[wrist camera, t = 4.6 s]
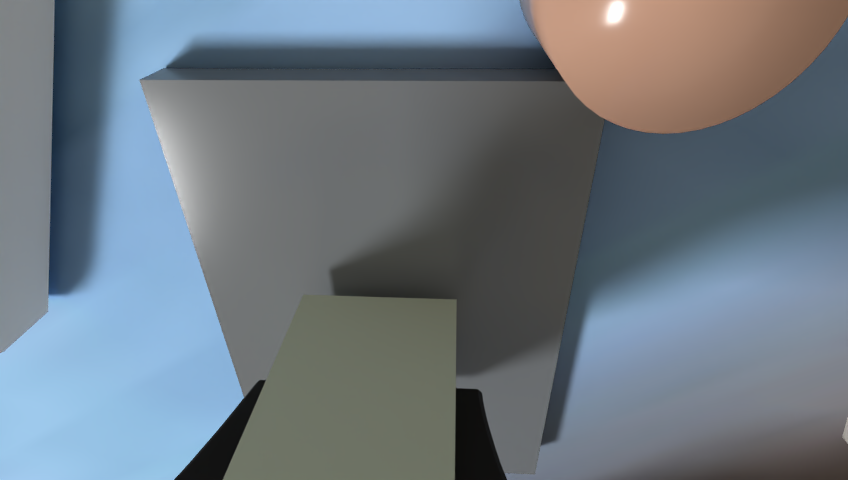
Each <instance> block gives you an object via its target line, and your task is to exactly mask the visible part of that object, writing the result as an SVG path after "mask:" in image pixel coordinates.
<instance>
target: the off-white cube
mask: <svg viewBox="0 0 848 480" xmlns="http://www.w3.org/2000/svg"><path fill="white" fill-rule="evenodd" d="M842 437H843V438H844V439H845V441H846V442H847V443H848V418H847V422H846V425H845V429H844V433H843V436H842Z"/></svg>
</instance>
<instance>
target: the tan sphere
mask: <svg viewBox="0 0 848 480" xmlns="http://www.w3.org/2000/svg"><path fill="white" fill-rule="evenodd" d="M519 1H520V6H521V9H522V12H523V15H524V17H525V20H526V22H527V24H528V26H529V28H530V30H531V31H532V33H533V34H534V36H535V37H536V39H537V40H538V42H539V43H540V45H541V46H542V48H543V49H544V51H545V52H546V54H547V55H548V57H549V58H550V60H551V61H552V63H553V64H554V66H555V67H556V69H557V70H558V72H559V73H560V75H561V76H562V78H563V79H564V81H565V82H566V83H567V85H568V86H569V88H570V89H571V90H572V92H573V93H574V94H575V96H576V97H577V98H578V99H579V100H580V101H581V102H582V103H583V104H584V105H585V106H586V107H588V108H589V109H590V110H592V111H593V112H595V113H596V114H597V115H599V116H600V117H602V118H604V119H606V120H608V121H610V122H612V123H613V124H616V125H619V126H622V127H625V128H627V129H631V130H636V131H641V132H646V133H660V134H667V133H683V132H689V131H694V130H700V129H704V128H707V127H711V126H714V125H718V124H720V123H723V122H725V121H728V120H730V119H733V118H736V117H738V116H740V115H742V114H744V113H746V112H748V111H750V110H751V109H753V108H755V107H757V106H759V105H760V104H762V103H763V102H765V101H766V100H768V99H770V98H771V97H773V96H774V95H776V94H777V93H778V92H779V91H781V90H782V89H783V88H785V87H786V86H787V85H789V84H790V83H791V82H792V81H793V80H795V79H796V78H797V77H798V76H799V75H800V74H801V73H802V72H803V71H804V70H805V69H806V68H808V67H809V66H810V65H811V63H812V62H813V61H814V60H815V59H816V58H817V57H818V56H819V55H820V54H821V52H822V51H823V50H824V49H825V48H826V47H827V45H828V44H829V43H830V41H831V40H832V39H833V37H834V36H835V35H836V33H837V32H838V31H839V29H840V28H841V26H842V25H843V23H844V21H845V20H846V18H847V17H848V0H519Z"/></svg>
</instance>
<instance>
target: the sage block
mask: <svg viewBox="0 0 848 480" xmlns="http://www.w3.org/2000/svg"><path fill="white" fill-rule="evenodd" d="M456 313H457V299H426V298H394V297H362V296H330V295H303V296H302V299H301V301H300V303H299V306H298V308H297V310H296V312H295V315H294V317H293V319H292V322H291V324H290V326H289V329H288V331H287V333H286V335H285V338H284V340H283V342H282V345H281V347H280V349H279V352H278V354H277V356H276V358H275V361H274V363H273V365H272V368H271V370H270V372H269V375H268V377H267V379H266V381H265V384H264V386H263V388H262V391H261V393H260V395H259V398H258V400H257V402H256V404H255V407H254V409H253V411H252V414H251V416H250V418H249V421H248V423H247V425H246V427H245V430H244V432H243V434H242V437H241V439H240V441H239V444H238V446H237V448H236V450H235V453H234V455H233V457H232V460H231V462H230V464H229V467H228V469H227V471H226V473H225V476H224V478H223V480H455V412H456Z"/></svg>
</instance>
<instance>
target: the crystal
mask: <svg viewBox="0 0 848 480" xmlns="http://www.w3.org/2000/svg"><path fill="white" fill-rule="evenodd" d="M54 11H55V0H0V353H2V352H4V351H5V350H6V349H7V348H8V347H9V346H11V345H12V344H13V343H14V342H15V341H16V340H17V339H18V338H19V337H20V336H22V335H23V334H24V333H25V332H26V331H27V330H28V329H29V328H30V327H32V326H33V325H34V324H35V323H36V322H37V321H38V320H39V319H40V318H42V317H43V316H44V315H45V314H46V313H47V312H48V290H49V243H50V197H51V151H52V104H53V58H54Z"/></svg>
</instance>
